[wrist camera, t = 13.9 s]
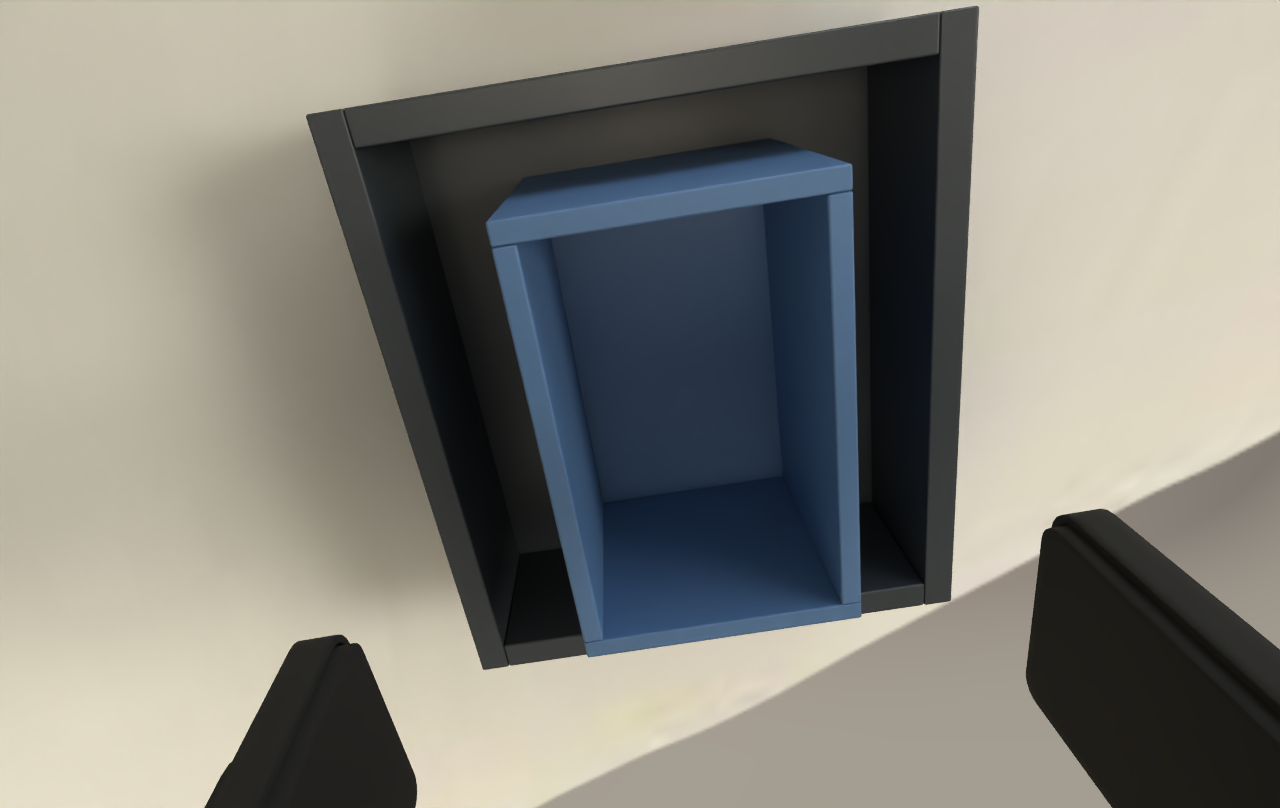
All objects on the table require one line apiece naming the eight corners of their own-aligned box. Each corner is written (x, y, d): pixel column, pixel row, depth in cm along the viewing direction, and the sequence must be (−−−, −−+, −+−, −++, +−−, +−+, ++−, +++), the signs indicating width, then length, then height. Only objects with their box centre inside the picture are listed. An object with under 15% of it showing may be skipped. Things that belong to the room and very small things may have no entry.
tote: (505, 561, 26) (482, 670, 21) (378, 107, 19) (304, 114, 15) (886, 504, 26) (951, 601, 21) (885, 24, 19) (980, 5, 14)
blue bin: (591, 507, 24) (587, 658, 18) (523, 177, 20) (484, 222, 13) (793, 477, 24) (862, 618, 18) (772, 137, 20) (853, 163, 13)
